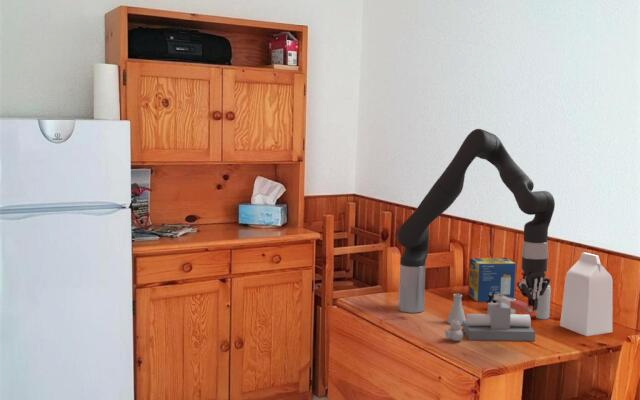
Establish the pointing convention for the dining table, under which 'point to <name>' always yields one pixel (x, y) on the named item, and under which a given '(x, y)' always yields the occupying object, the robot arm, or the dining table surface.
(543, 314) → the beverage can
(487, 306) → the valve
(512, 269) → the protein box
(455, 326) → the rubber duck
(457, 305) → the flask
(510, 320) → the pipe manifold
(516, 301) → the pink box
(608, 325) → the milk
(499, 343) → the dining table surface
